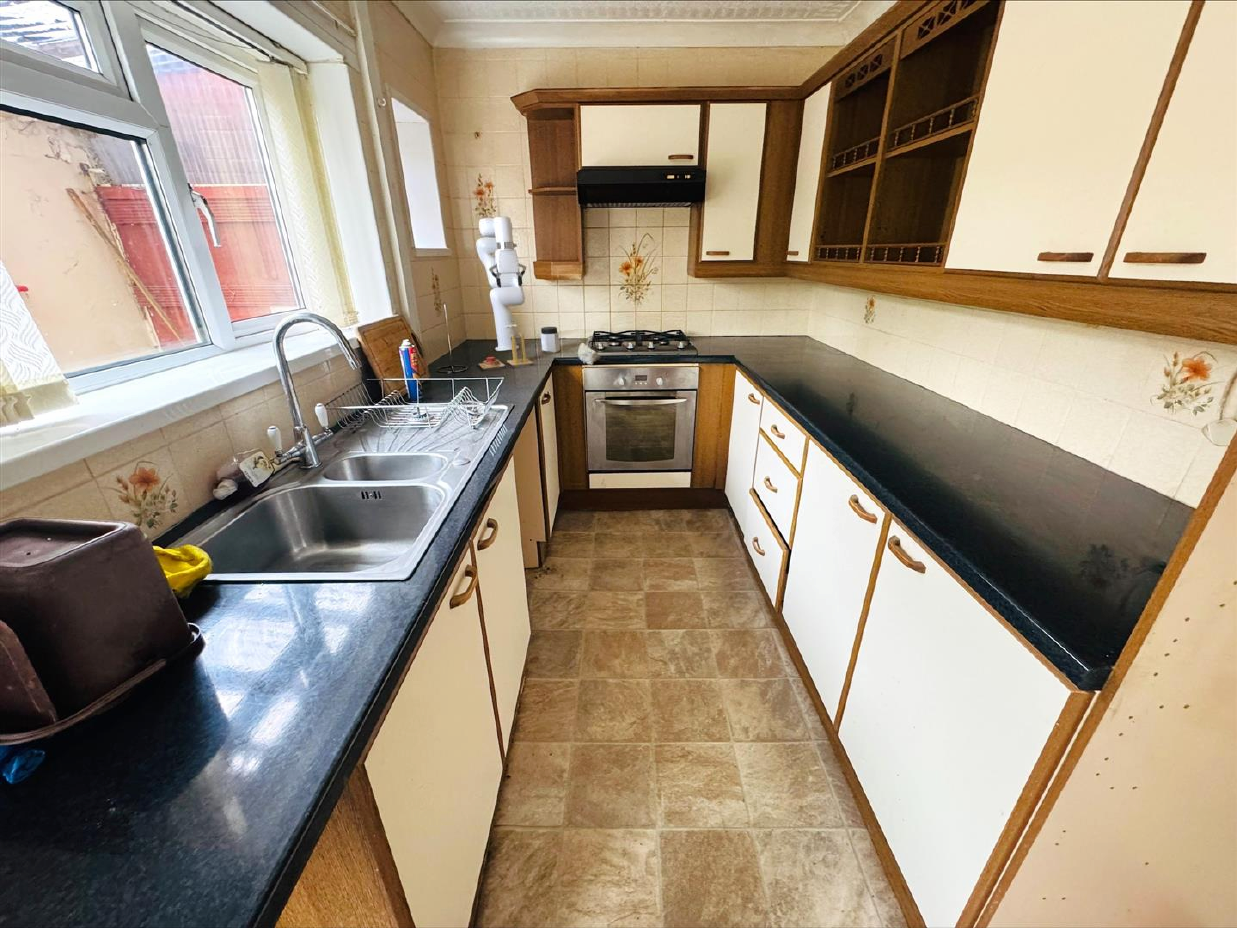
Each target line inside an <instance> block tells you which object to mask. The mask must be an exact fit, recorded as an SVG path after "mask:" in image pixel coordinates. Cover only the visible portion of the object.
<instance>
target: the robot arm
mask: <svg viewBox="0 0 1237 928" xmlns="http://www.w3.org/2000/svg"><path fill="white" fill-rule="evenodd" d="M478 230H479V232H480V235H481V237H479V238H478V239H477V240H476V242H475V247H476V252H477V256H478V258H479V260H480V262H481V263H482V265H483V267H484V268H485V272H486V276H487V280H488V284H489V286H490V288H491V290H490V291H489V298H490V303H491V306H492V310H493V317H494V324H495V333H496V339H497V340H496V341H497V346H496V347H495V351H496V352H502V351H512V344H511V339H510V338H511V336H510V334H513V332H512V330H511V328H506V325H514V324H515V322H514V315H513V313H512V312H511V310H510V309H508V308H507V307H515V306H516V307H517V306H522V305H524V303H525V301H526V298H525V292H524V288H523V276H524V275H525V273H526V271H527V266H526V265H524V264H522V263H520V262H519V257H518V254H517V250H516V249H515V248H517V247H518V245H517V243H515V242H514V238H513V237H514V236H513V223H512V220H511V218H510V217H509V216H495V217H482V218H480V219H479V222H478ZM520 268H521V271H520ZM513 335H514V334H513ZM516 350H520V345H518V344H516Z"/></svg>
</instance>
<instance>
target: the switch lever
mask: <svg viewBox="0 0 1237 928" xmlns="http://www.w3.org/2000/svg"><path fill="white" fill-rule="evenodd" d="M517 327H518V325H517V324H515V323H514V325H506V328H511V330H512V332H513V334H514V335H515V341H516V343H520V335H519V333H517V331H516V329H515V328H517Z"/></svg>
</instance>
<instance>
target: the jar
mask: <svg viewBox="0 0 1237 928" xmlns="http://www.w3.org/2000/svg"><path fill="white" fill-rule="evenodd" d="M540 332H541V333H540V343H541V350H542V351H545V352H550V353H552V354H554V353H555V354H556V353H558V352H560V336H559V332H558V327H557V326H544V327H541V328H540Z"/></svg>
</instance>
